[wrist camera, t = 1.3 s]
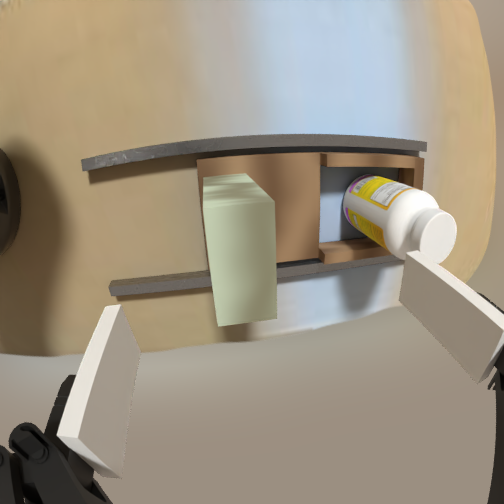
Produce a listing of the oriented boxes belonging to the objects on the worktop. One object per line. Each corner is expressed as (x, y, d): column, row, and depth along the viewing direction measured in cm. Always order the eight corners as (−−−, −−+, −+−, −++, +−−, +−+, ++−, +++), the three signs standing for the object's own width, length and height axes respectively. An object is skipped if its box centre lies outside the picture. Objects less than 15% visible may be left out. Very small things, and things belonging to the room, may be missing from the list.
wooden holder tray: (208, 265, 31) (213, 346, 19) (196, 158, 27) (190, 178, 15) (401, 242, 34) (468, 290, 22) (408, 155, 30) (491, 176, 18)
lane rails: (114, 289, 31) (111, 296, 29) (86, 158, 25) (81, 159, 23) (408, 253, 36) (415, 257, 34) (419, 141, 29) (426, 142, 28)
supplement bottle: (378, 232, 33) (446, 280, 22) (334, 222, 32) (398, 274, 20) (394, 181, 31) (472, 211, 19) (349, 166, 30) (426, 191, 18)
